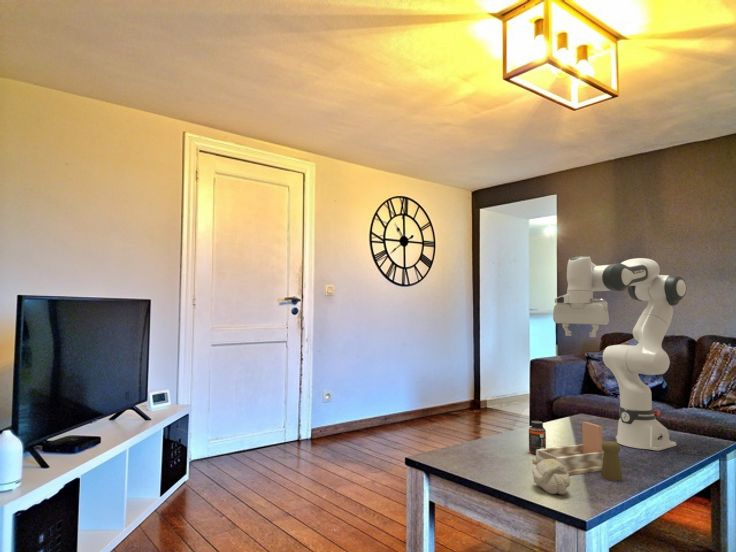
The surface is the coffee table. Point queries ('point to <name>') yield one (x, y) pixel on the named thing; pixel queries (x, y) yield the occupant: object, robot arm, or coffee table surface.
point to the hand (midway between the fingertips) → (580, 336)
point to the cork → (611, 461)
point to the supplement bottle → (537, 437)
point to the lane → (572, 458)
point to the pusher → (591, 438)
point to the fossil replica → (551, 476)
